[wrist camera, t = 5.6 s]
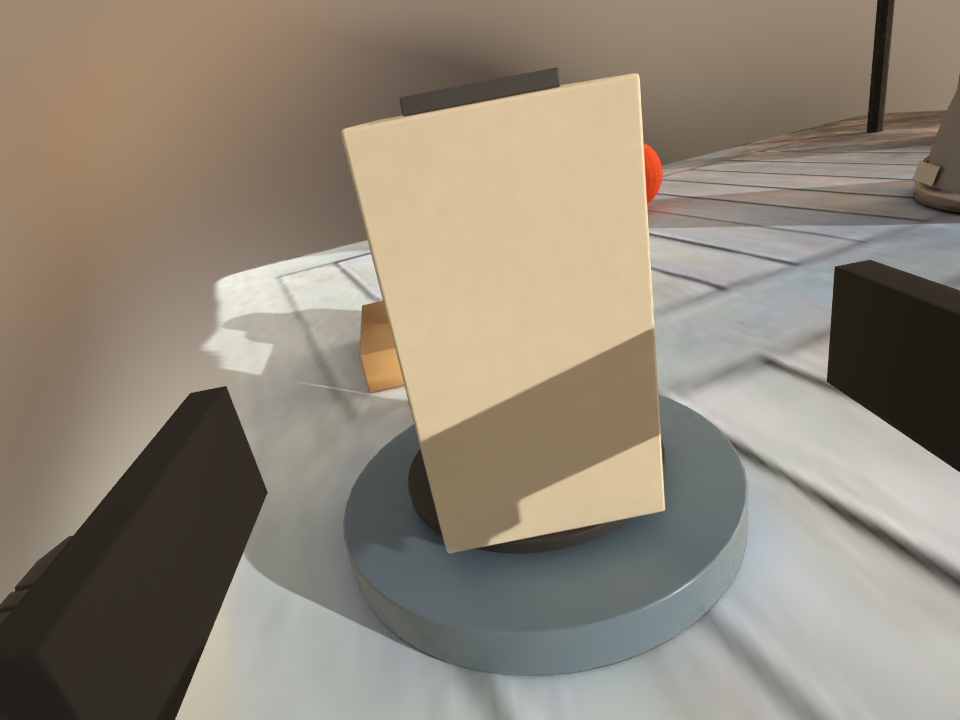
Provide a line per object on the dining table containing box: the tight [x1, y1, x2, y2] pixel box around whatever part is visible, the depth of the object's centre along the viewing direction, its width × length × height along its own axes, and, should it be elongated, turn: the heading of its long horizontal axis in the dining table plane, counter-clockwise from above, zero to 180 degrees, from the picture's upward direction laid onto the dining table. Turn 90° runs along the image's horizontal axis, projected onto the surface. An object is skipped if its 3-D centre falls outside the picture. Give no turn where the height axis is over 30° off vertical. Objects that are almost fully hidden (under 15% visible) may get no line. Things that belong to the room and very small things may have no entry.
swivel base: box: [344, 395, 748, 676], centre depth 20 cm, size 13×13×2 cm
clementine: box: [643, 143, 663, 204], centre depth 59 cm, size 8×7×7 cm
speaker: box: [341, 68, 666, 554], centre depth 18 cm, size 9×8×12 cm
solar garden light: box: [867, 0, 895, 132], centre depth 73 cm, size 12×12×30 cm
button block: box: [360, 301, 404, 393], centre depth 35 cm, size 12×9×4 cm
